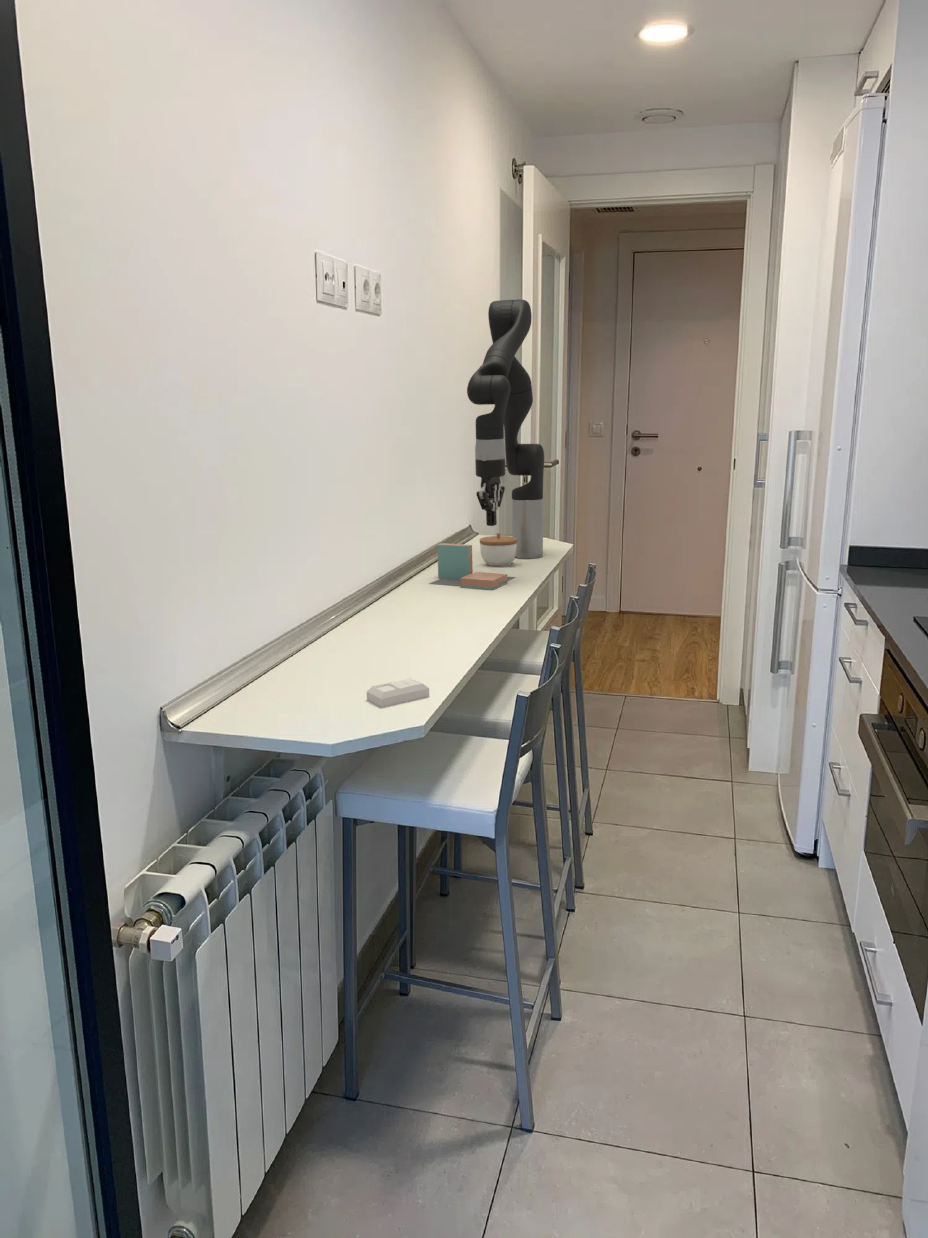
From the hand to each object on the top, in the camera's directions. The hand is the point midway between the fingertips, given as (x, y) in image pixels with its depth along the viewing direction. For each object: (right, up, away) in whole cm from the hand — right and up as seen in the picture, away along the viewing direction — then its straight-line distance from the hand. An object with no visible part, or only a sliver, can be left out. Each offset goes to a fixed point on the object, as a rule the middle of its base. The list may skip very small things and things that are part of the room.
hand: (491, 525), depth 242 cm
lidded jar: (+3, -9, +28) cm, 29 cm away
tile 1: (-9, -13, +9) cm, 18 cm away
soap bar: (-18, -37, -87) cm, 96 cm away
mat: (-5, -14, +5) cm, 16 cm away
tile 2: (0, -13, +3) cm, 13 cm away
